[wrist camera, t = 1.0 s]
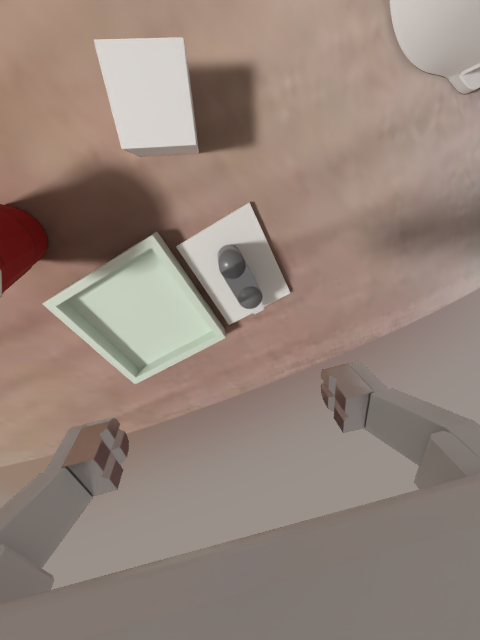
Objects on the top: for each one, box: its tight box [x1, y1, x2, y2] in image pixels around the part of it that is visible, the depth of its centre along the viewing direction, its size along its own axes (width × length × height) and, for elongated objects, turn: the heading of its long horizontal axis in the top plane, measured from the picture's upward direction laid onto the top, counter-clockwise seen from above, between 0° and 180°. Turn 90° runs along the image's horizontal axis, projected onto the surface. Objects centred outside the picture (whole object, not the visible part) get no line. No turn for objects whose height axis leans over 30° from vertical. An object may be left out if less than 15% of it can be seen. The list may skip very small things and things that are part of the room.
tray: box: [43, 231, 226, 384], centre depth 31 cm, size 16×16×2 cm
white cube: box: [94, 38, 199, 157], centre depth 20 cm, size 6×6×6 cm
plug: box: [218, 245, 264, 314], centre depth 29 cm, size 9×3×4 cm, turn 28°
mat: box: [176, 202, 290, 325], centre depth 31 cm, size 10×13×1 cm
